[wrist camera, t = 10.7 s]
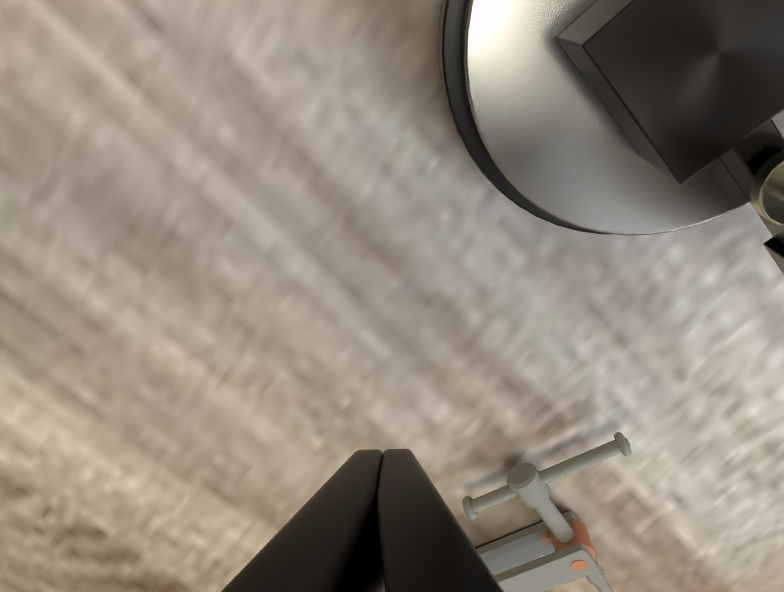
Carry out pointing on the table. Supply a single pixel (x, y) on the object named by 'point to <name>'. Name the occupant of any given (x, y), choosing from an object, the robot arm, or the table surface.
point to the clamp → (544, 529)
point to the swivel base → (460, 111)
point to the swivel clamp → (633, 108)
